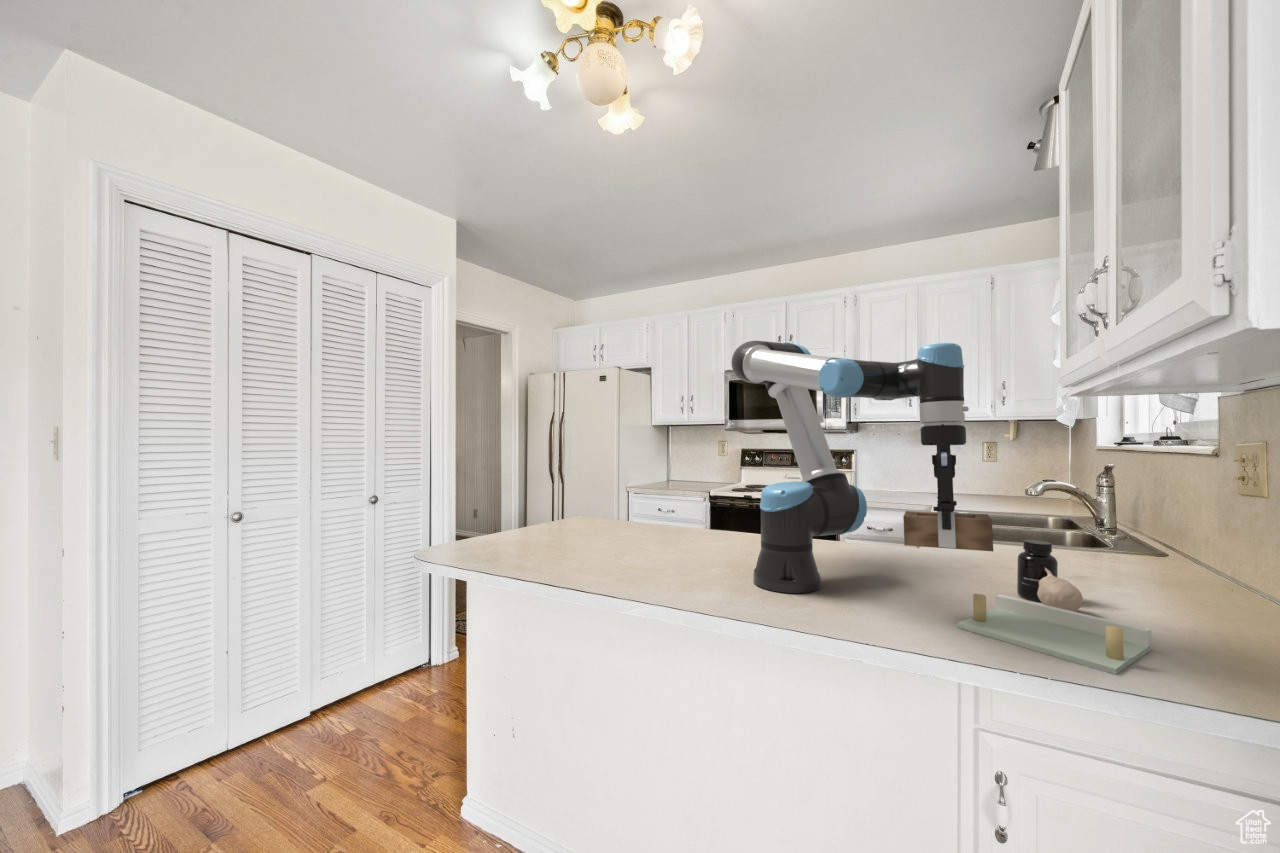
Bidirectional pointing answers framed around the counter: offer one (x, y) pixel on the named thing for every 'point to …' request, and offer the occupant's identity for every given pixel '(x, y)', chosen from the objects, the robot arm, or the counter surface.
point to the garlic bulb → (1059, 593)
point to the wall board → (1060, 632)
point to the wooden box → (968, 530)
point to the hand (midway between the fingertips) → (946, 542)
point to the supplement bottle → (1034, 567)
